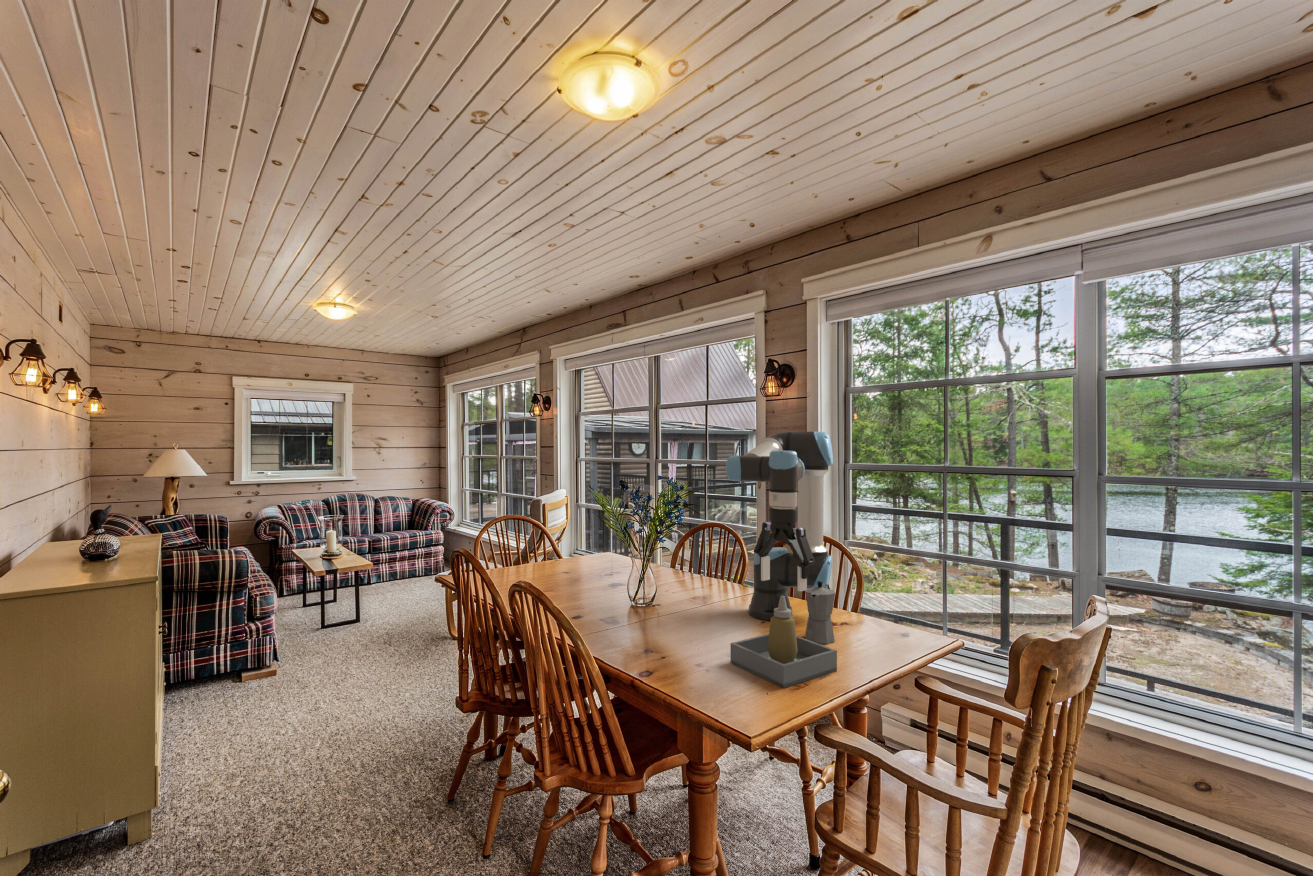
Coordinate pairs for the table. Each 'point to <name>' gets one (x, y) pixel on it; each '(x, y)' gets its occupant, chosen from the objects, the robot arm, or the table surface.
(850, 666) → the table surface
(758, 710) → the table surface
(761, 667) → the bin
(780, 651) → the squeeze bottle
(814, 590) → the coffeepot
